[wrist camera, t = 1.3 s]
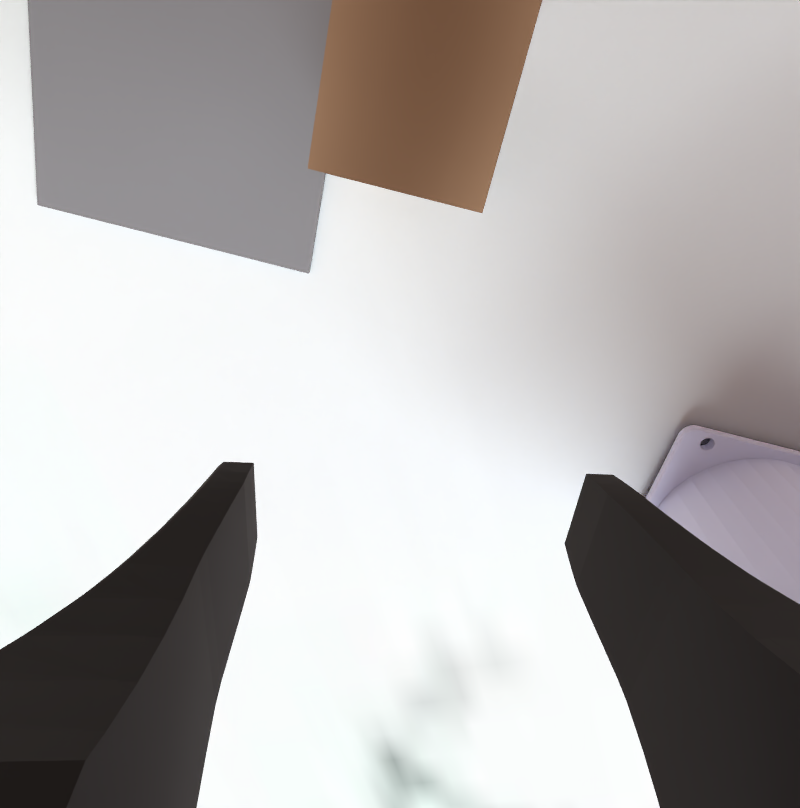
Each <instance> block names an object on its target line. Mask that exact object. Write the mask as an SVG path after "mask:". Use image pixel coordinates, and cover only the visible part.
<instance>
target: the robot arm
mask: <svg viewBox="0 0 800 808" xmlns="http://www.w3.org/2000/svg"><path fill="white" fill-rule="evenodd" d="M706 438H710V441H709V442H708V444H705V445H700V442H701V441H702V440H703V439H706ZM256 542H257V522H256V502H255V482H254V463H241V462H223V463H222V464H221V465H219V466H218V467H217V469H216V470H215V471H214V472H213V473H212V474H211V475H210V477H209V478H208V479H207V480H206V481H205V482H204V483H203V485H202V486H201V487H200V488H199V489H198V490H197V491H196V492H195V493H194V495H193V496H192V497H191V498H190V499H189V500H188V501H187V502H186V503H185V504H184V505H183V506H182V507H181V508H180V509H179V510H178V511H177V512H176V514H175V515H174V516H173V517H172V518H171V519H170V520H169V521H168V522H167V523H166V524H165V525H164V526H163V527H162V528H161V529H160V530H159V531H158V532H157V533H155V534H154V535H153V536H152V537H151V538H150V539H149V540H148V541H147V542H146V543H145V544H144V545H142V546H141V547H140V548H139V549H138V550H137V551H136V552H135V553H134V554H133V555H132V556H130V557H129V558H128V559H127V560H126V561H125V562H124V563H122V564H121V565H120V566H119V567H118V568H116V569H115V570H114V571H113V572H112V573H110V574H109V575H108V576H107V577H106V578H104V579H103V580H102V581H100V582H99V583H98V584H97V585H95V586H94V587H93V588H91V589H90V590H89V591H88V592H86V593H85V594H84V595H82V596H81V597H79V598H78V599H77V600H75V601H74V602H72V603H71V604H69V605H68V606H67V607H65V608H64V609H62V610H61V611H59V612H58V613H56V614H55V615H53V616H52V617H50V618H49V619H47V620H46V621H44V622H43V623H41V624H40V625H39V626H37V627H36V628H34V629H33V630H31V631H30V632H28V633H26V634H25V635H23V636H22V637H20V638H18V639H17V640H15V641H13V642H12V643H10V644H8V645H7V646H5V647H4V648H2V649H0V808H196V807H197V801H198V796H199V790H200V785H201V779H202V773H203V768H204V762H205V757H206V751H207V746H208V741H209V736H210V730H211V725H212V720H213V715H214V709H215V705H216V700H217V696H218V692H219V688H220V684H221V680H222V677H223V674H224V670H225V667H226V663H227V660H228V656H229V653H230V650H231V646H232V643H233V639H234V636H235V632H236V629H237V626H238V622H239V619H240V615H241V612H242V608H243V605H244V601H245V598H246V594H247V591H248V587H249V583H250V579H251V573H252V567H253V561H254V555H255V549H256ZM565 546H566V550H567V554H568V558H569V561H570V565H571V569H572V572H573V575H574V578H575V582H576V585H577V587H578V590H579V592H580V595H581V597H582V599H583V602H584V604H585V606H586V608H587V611H588V613H589V615H590V618H591V620H592V622H593V624H594V627H595V629H596V631H597V633H598V636H599V638H600V640H601V642H602V645H603V647H604V649H605V651H606V654H607V656H608V658H609V660H610V663H611V665H612V667H613V669H614V672H615V674H616V676H617V678H618V681H619V683H620V686H621V688H622V691H623V693H624V696H625V698H626V701H627V703H628V706H629V709H630V713H631V716H632V719H633V722H634V725H635V728H636V731H637V734H638V737H639V740H640V743H641V746H642V749H643V752H644V755H645V759H646V762H647V765H648V769H649V772H650V775H651V779H652V782H653V785H654V789H655V792H656V795H657V798H658V802H659V806H660V808H800V451H797V450H793V449H789V448H785V447H781V446H777V445H773V444H769V443H765V442H761V441H757V440H753V439H749V438H745V437H741V436H737V435H733V434H729V433H725V432H721V431H717V430H713V429H709V428H705V427H701V426H697V425H690V426H686V427H685V428H683V429H682V430H681V431H680V432H679V434H678V436H677V437H676V439H675V441H674V443H673V445H672V447H671V449H670V451H669V453H668V455H667V457H666V459H665V461H664V463H663V465H662V467H661V469H660V471H659V473H658V475H657V477H656V479H655V481H654V483H653V485H652V487H651V489H650V491H649V492H648V494H647V496H646V498H644V497H643V496H642V495H640V494H639V493H638V492H636V491H635V490H634V489H633V488H631V487H630V486H628V485H627V484H626V483H624V482H623V481H621V480H620V479H618V478H617V477H615V476H614V475H603V474H586V476H585V480H584V483H583V486H582V489H581V493H580V496H579V499H578V502H577V506H576V509H575V512H574V515H573V519H572V522H571V525H570V528H569V532H568V535H567V538H566V541H565Z"/></svg>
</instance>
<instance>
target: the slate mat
mask: <svg viewBox="0 0 800 808" xmlns="http://www.w3.org/2000/svg"><path fill="white" fill-rule="evenodd" d="M331 6H332V0H28V12H29V33H30V55H31V76H32V97H33V118H34V140H35V161H36V182H37V203H38V205H40V206H44V207H48V208H52V209H56V210H60V211H64V212H68V213H72V214H75V215H79V216H83V217H87V218H91V219H95V220H99V221H103V222H107V223H111V224H115V225H119V226H123V227H127V228H131V229H135V230H139V231H143V232H147V233H151V234H155V235H159V236H163V237H167V238H170V239H174V240H178V241H182V242H186V243H190V244H194V245H198V246H202V247H206V248H210V249H214V250H218V251H222V252H226V253H230V254H234V255H238V256H242V257H246V258H250V259H254V260H258V261H261V262H265V263H269V264H273V265H277V266H281V267H285V268H289V269H293V270H297V271H301V272H305V273H309V272H310V267H311V261H312V255H313V248H314V242H315V236H316V230H317V224H318V217H319V211H320V205H321V199H322V192H323V186H324V180H325V174H326V173H323V172H319V171H315V170H311V169H308V162H309V155H310V148H311V142H312V135H313V128H314V121H315V114H316V108H317V101H318V94H319V87H320V80H321V74H322V67H323V60H324V53H325V47H326V40H327V33H328V26H329V19H330V13H331Z"/></svg>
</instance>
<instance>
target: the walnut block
mask: <svg viewBox="0 0 800 808" xmlns="http://www.w3.org/2000/svg"><path fill="white" fill-rule="evenodd" d="M541 2H542V0H332V6H331V13H330V19H329V26H328V33H327V40H326V47H325V53H324V60H323V67H322V74H321V80H320V87H319V94H318V101H317V108H316V114H315V121H314V128H313V135H312V142H311V148H310V155H309V162H308V169H311V170H315V171H319V172H323V173H327V174H331V175H335V176H339V177H343V178H347V179H351V180H354V181H358V182H362V183H366V184H370V185H374V186H378V187H382V188H386V189H390V190H394V191H398V192H401V193H405V194H409V195H413V196H417V197H421V198H425V199H429V200H433V201H437V202H441V203H445V204H449V205H452V206H456V207H460V208H464V209H468V210H472V211H476V212H480V213H482V212H483V209H484V205H485V202H486V198H487V194H488V191H489V187H490V184H491V180H492V177H493V173H494V170H495V166H496V162H497V159H498V155H499V152H500V148H501V145H502V141H503V138H504V134H505V130H506V127H507V123H508V120H509V116H510V113H511V109H512V106H513V102H514V98H515V95H516V91H517V88H518V84H519V81H520V77H521V74H522V70H523V66H524V63H525V59H526V56H527V52H528V49H529V45H530V42H531V38H532V34H533V31H534V27H535V24H536V20H537V17H538V13H539V10H540V6H541Z"/></svg>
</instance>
